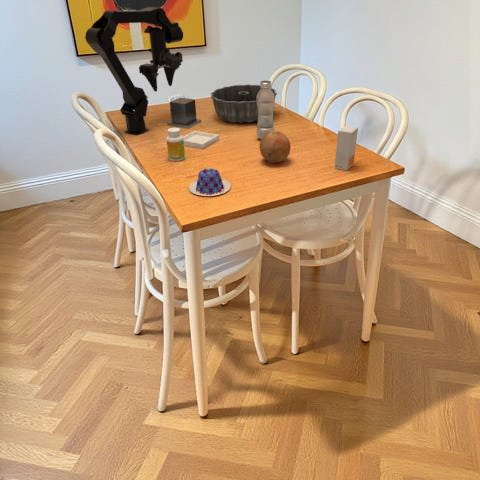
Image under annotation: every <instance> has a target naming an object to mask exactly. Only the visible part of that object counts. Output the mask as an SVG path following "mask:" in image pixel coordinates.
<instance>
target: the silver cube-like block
mask: <svg viewBox="0 0 480 480" xmlns="http://www.w3.org/2000/svg"><path fill="white" fill-rule="evenodd" d="M169 108H170V110H169V111H170V118H171V120H169V121H168V122H167V123H166V124H167V126H170V127H175V128H180V129H191V128H193V127H194V126H196V125H198V124H201V123H202V119H200V118H197V110H196V109H197V108H196V99H193V98H187V97H179V98H175V99H174V100H171V101H169Z"/></svg>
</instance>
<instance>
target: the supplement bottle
mask: <svg viewBox="0 0 480 480" xmlns="http://www.w3.org/2000/svg"><path fill="white" fill-rule="evenodd" d="M183 136H184V135H182V134H181V128H180V127H170V128H168V129H167V136H166V148H167V156H168V159H169V161H170V162H171V161H172V162H178V161H183V160H184V159H185V157H186V154H185V146H184V141H183Z"/></svg>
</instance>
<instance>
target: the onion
mask: <svg viewBox="0 0 480 480" xmlns="http://www.w3.org/2000/svg"><path fill="white" fill-rule="evenodd" d="M259 152H260V155H261V156H262V158H263V159H265V160H266V161H268V162H270V163H273V164H276V163H281V162H283V161H284V160H286V159H287V158H288V157H289V156H290V153H291V141H290V140H289V137H288V136H287V135H286V134H285V133H284V132H281V131H279V130H274V131H270V132H267V133H266V134H265V135H264V136H263V138H262V140H260V143H259Z"/></svg>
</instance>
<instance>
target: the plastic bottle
mask: <svg viewBox="0 0 480 480" xmlns="http://www.w3.org/2000/svg"><path fill="white" fill-rule="evenodd" d="M259 83H260V84H259V85H260V88H261V90H260V91H259V92H258V94H257V97H256V100H257V107H258V121H257V125H256V131H255V132H256V138H257V139H258V140H260V141H261V140H262V138H263V136H264V135H265V134H266V133H267V132H270V131H275V125H274V108H275V103H276V102H275V101H276V97H275V96H274V94H273V92H272V90H271V88H272V81H270V80H261V81H260V82H259ZM274 102H275V103H274Z"/></svg>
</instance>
